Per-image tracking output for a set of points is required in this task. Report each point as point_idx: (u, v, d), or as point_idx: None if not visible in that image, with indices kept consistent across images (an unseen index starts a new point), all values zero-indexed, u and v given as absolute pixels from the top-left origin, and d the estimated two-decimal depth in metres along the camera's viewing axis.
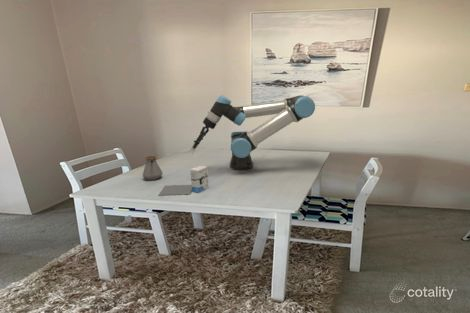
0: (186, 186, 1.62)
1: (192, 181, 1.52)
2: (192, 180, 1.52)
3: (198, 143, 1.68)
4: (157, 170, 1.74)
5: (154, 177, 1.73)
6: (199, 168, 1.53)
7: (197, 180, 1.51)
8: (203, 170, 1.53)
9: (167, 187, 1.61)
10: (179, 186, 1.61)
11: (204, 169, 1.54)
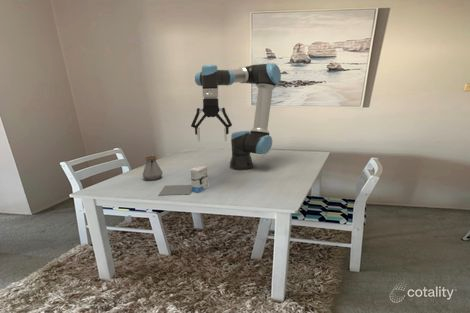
0: (186, 186, 1.62)
1: (192, 181, 1.52)
2: (192, 180, 1.52)
3: None
4: (157, 170, 1.74)
5: (154, 177, 1.73)
6: (199, 168, 1.53)
7: (197, 180, 1.51)
8: (203, 170, 1.53)
9: (167, 187, 1.61)
10: (179, 186, 1.61)
11: (204, 169, 1.54)
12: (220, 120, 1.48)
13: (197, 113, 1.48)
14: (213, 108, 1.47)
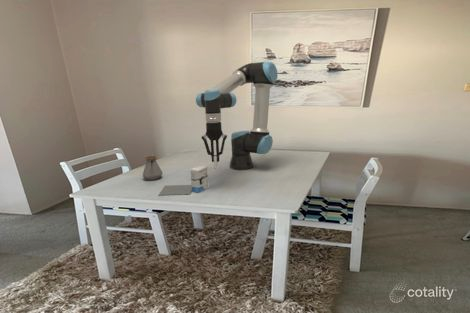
0: (186, 186, 1.62)
1: (192, 181, 1.52)
2: (192, 180, 1.52)
3: None
4: (157, 170, 1.74)
5: (154, 177, 1.73)
6: (199, 168, 1.53)
7: (197, 180, 1.51)
8: (203, 170, 1.53)
9: (167, 187, 1.61)
10: (179, 186, 1.61)
11: (204, 169, 1.54)
12: (216, 146, 1.50)
13: (204, 140, 1.49)
14: (218, 130, 1.48)
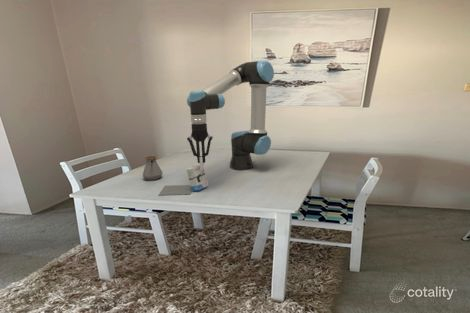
0: (186, 186, 1.62)
1: (190, 180, 1.53)
2: (190, 179, 1.53)
3: (208, 153, 1.53)
4: (157, 170, 1.74)
5: (154, 177, 1.73)
6: (195, 167, 1.54)
7: (194, 178, 1.51)
8: (199, 168, 1.54)
9: (167, 187, 1.61)
10: (179, 186, 1.61)
11: None
12: (202, 147, 1.50)
13: (190, 142, 1.49)
14: (203, 131, 1.48)
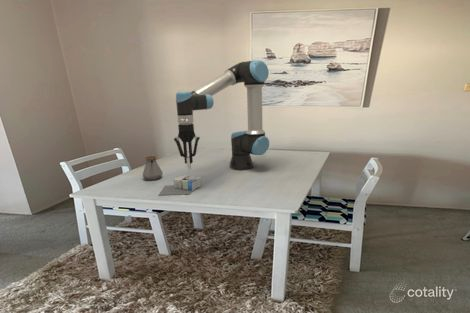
0: None
1: (183, 187, 1.56)
2: (182, 187, 1.56)
3: (195, 154, 1.53)
4: (157, 170, 1.74)
5: (154, 177, 1.73)
6: None
7: (181, 181, 1.56)
8: (180, 176, 1.62)
9: (167, 187, 1.61)
10: None
11: (181, 176, 1.63)
12: (189, 147, 1.50)
13: (177, 142, 1.49)
14: (190, 132, 1.48)
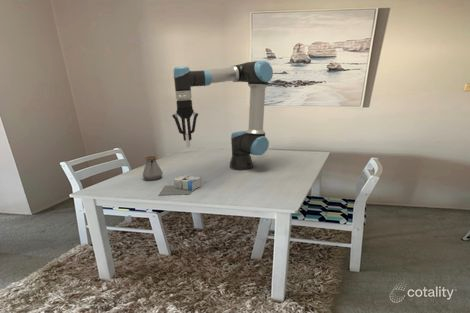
0: None
1: (183, 187, 1.56)
2: (182, 187, 1.56)
3: None
4: (157, 170, 1.74)
5: (154, 177, 1.73)
6: None
7: (181, 181, 1.56)
8: (180, 176, 1.62)
9: (167, 187, 1.61)
10: None
11: (181, 176, 1.63)
12: (187, 124, 1.49)
13: (175, 119, 1.48)
14: (189, 108, 1.47)
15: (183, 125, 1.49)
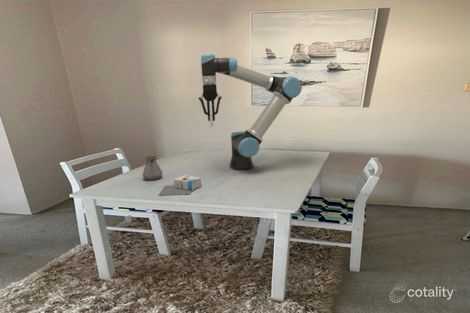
0: None
1: (183, 187, 1.56)
2: (182, 187, 1.56)
3: None
4: (157, 170, 1.74)
5: (154, 177, 1.73)
6: None
7: (181, 181, 1.56)
8: (180, 176, 1.62)
9: (167, 187, 1.61)
10: None
11: (181, 176, 1.63)
12: (212, 106, 1.67)
13: (201, 101, 1.66)
14: (213, 91, 1.65)
15: (208, 107, 1.67)
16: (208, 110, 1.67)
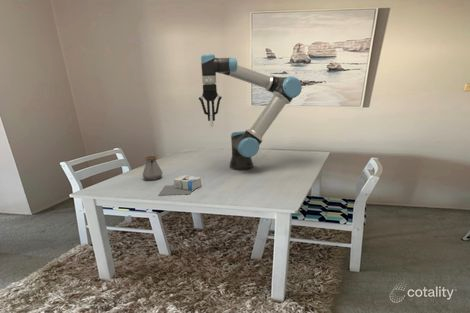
0: None
1: (183, 187, 1.56)
2: (182, 187, 1.56)
3: None
4: (157, 170, 1.74)
5: (154, 177, 1.73)
6: None
7: (181, 181, 1.56)
8: (180, 176, 1.62)
9: (167, 187, 1.61)
10: None
11: (181, 176, 1.63)
12: (212, 106, 1.67)
13: (201, 101, 1.66)
14: (213, 91, 1.65)
15: (208, 107, 1.67)
16: (208, 110, 1.67)
